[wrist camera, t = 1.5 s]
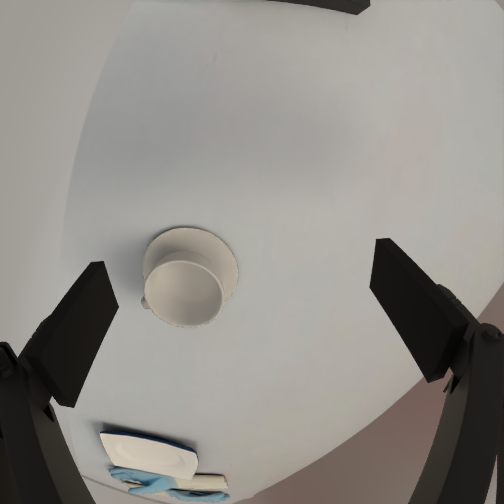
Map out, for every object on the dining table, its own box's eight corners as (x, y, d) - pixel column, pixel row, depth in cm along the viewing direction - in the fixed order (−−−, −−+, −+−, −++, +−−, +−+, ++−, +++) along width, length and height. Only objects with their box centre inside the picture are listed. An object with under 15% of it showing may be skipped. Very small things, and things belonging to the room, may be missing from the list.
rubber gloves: (232, 499, 67) (233, 515, 61) (134, 490, 66) (132, 506, 60) (224, 473, 55) (224, 495, 49) (100, 459, 54) (96, 479, 48)
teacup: (212, 210, 27) (208, 228, 23) (252, 292, 32) (255, 320, 27) (126, 248, 29) (110, 271, 24) (172, 320, 33) (165, 348, 29)
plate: (113, 456, 52) (111, 465, 50) (97, 418, 43) (94, 429, 41) (195, 472, 55) (194, 481, 52) (201, 439, 46) (201, 451, 44)
